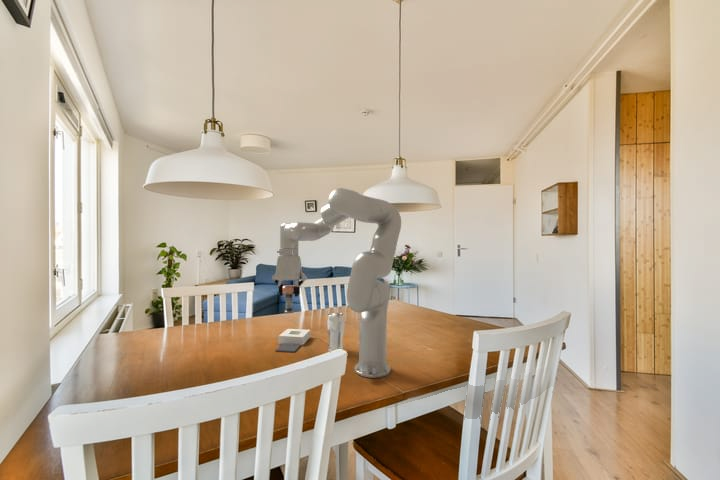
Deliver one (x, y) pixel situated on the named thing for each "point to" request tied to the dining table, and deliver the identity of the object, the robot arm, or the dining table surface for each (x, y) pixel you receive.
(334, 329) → the beer glass
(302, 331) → the eye block
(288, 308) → the copper topped tamper
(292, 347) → the rubber mat
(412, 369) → the dining table surface
